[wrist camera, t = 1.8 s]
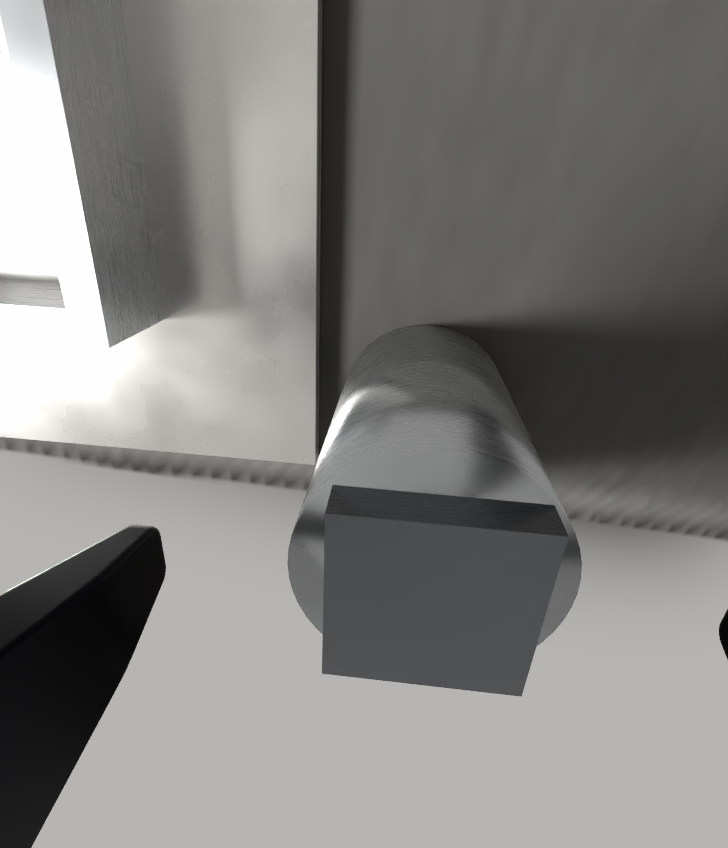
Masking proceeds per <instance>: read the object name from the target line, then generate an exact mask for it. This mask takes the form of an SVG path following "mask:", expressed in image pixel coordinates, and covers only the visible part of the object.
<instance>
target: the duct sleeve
mask: <svg viewBox="0 0 728 848" xmlns="http://www.w3.org/2000/svg"><path fill="white" fill-rule="evenodd" d="M581 567H582V563H581V554H580V548H579V544H578V541H577V538H576V534H575V532H574V530H573V527H572V525H571V523H570V521H569V519H568V517H567V515H566V513H565V511H564V508H563V506H562V504H561V502H560V500H559V498H558V496H557V494H556V492H555V489H554V487H553V485H552V483H551V481H550V479H549V477H548V475H547V473H546V470H545V468H544V466H543V464H542V462H541V460H540V458H539V456H538V454H537V451H536V449H535V447H534V445H533V443H532V441H531V439H530V437H529V435H528V432H527V430H526V428H525V426H524V424H523V422H522V420H521V418H520V416H519V413H518V411H517V409H516V407H515V405H514V403H513V401H512V399H511V397H510V394H509V392H508V390H507V388H506V386H505V384H504V382H503V380H502V378H501V375H500V373H499V371H498V369H497V367H496V365H495V363H494V362H493V360H492V359H491V357H490V356H489V354H488V353H487V352H486V351H485V350H484V349H483V348H482V347H481V346H480V345H479V344H477V343H476V342H475V341H474V340H472V339H471V338H469V337H467V336H466V335H464V334H462V333H460V332H457V331H455V330H453V329H449V328H445V327H441V326H434V325H415V326H408V327H404V328H400V329H397V330H394V331H392V332H389V333H387V334H385V335H383V336H381V337H380V338H378V339H376V340H375V341H374V342H372V343H371V344H370V345H369V346H367V347H366V348H365V349H364V350H363V351H362V352H361V354H360V355H359V356H358V358H357V359H356V360H355V362H354V363H353V365H352V367H351V369H350V371H349V373H348V376H347V378H346V381H345V384H344V387H343V390H342V393H341V395H340V398H339V401H338V404H337V407H336V410H335V413H334V416H333V418H332V421H331V424H330V427H329V430H328V433H327V436H326V439H325V441H324V444H323V447H322V450H321V453H320V456H319V459H318V461H317V464H316V467H315V470H314V473H313V476H312V479H311V482H310V484H309V487H308V490H307V493H306V496H305V499H304V502H303V505H302V508H301V510H300V513H299V516H298V519H297V522H296V525H295V528H294V530H293V533H292V537H291V541H290V546H289V551H288V570H289V579H290V582H291V586H292V589H293V592H294V594H295V597H296V599H297V601H298V603H299V605H300V607H301V609H302V610H303V612H304V613H305V615H306V617H307V618H308V619H309V620H310V621H311V623H312V624H313V625H314V626H315V627H316V628H317V629H318V630H319V631H320V632H321V633H322V634H323V654H322V655H323V656H322V673H323V674H332V675H340V676H349V677H358V678H366V679H375V680H383V681H392V682H402V683H409V684H418V685H427V686H435V687H444V688H453V689H461V690H471V691H479V692H487V693H496V694H505V695H514V696H522V693H523V689H524V685H525V682H526V679H527V676H528V672H529V669H530V666H531V662H532V659H533V655H534V652H535V649H536V646H537V645H539V644H540V643H542V642H543V641H544V640H545V639H546V638H547V637H548V636H549V635H551V634H552V633H553V632H554V631H555V629H556V628H557V627H558V626H559V625H560V623H561V622H562V621H563V620H564V618H565V617H566V615H567V614H568V612H569V610H570V609H571V607H572V605H573V603H574V600H575V598H576V595H577V593H578V588H579V584H580V580H581Z"/></svg>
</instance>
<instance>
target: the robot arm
mask: <svg viewBox="0 0 728 848" xmlns="http://www.w3.org/2000/svg"><path fill="white" fill-rule="evenodd" d="M165 571H166V565H165V559H164V553H163V547H162V541H161V536H160V532H159V531H158V529H157V528H155V527H153V526H143V525H130V526H128V527H126V528H124V529H122V530H120V531H118V532H116V533H114V534H113V535H111V536H109V537H107V538H105V539H103V540H101V541H100V542H98V543H96V544H94V545H92V546H90V547H88V548H86V549H84V550H83V551H81V552H79V553H77V554H75V555H73V556H71V557H69V558H68V559H66V560H64V561H62V562H60V563H58V564H56V565H54V566H52V567H51V568H49V569H47V570H45V571H43V572H41V573H40V574H37V575H36V576H34V577H32V578H30V579H28V580H26V581H25V582H22V583H21V584H19V585H17V586H15V587H13V588H11V589H9V590H8V591H6V592H4V593H2V594H0V848H31V847H32V845H33V843H34V841H35V839H36V837H37V836H38V834H39V832H40V830H41V828H42V826H43V824H44V823H45V821H46V819H47V817H48V815H49V813H50V811H51V810H52V807H53V806H54V804H55V802H56V800H57V799H58V797H59V795H60V793H61V791H62V789H63V787H64V785H65V784H66V782H67V780H68V778H69V776H70V774H71V772H72V770H73V769H74V767H75V765H76V763H77V761H78V759H79V757H80V756H81V754H82V752H83V750H84V748H85V746H86V744H87V743H88V740H89V739H90V737H91V735H92V733H93V731H94V729H95V728H96V726H97V724H98V722H99V720H100V719H101V717H102V714H103V713H104V711H105V709H106V707H107V705H108V704H109V702H110V700H111V698H112V696H113V694H114V692H115V690H116V689H117V687H118V685H119V683H120V681H121V679H122V677H123V675H124V673H125V671H126V669H127V667H128V664H129V662H130V660H131V658H132V655H133V653H134V651H135V648H136V646H137V643H138V641H139V639H140V636H141V634H142V631H143V629H144V626H145V624H146V621H147V619H148V617H149V614H150V612H151V609H152V607H153V605H154V602H155V600H156V597H157V595H158V593H159V590H160V588H161V585H162V583H163V580H164V577H165ZM719 636H720V640H721V644H722V646H723V649H724V651H725V654H726V656H727V659H728V610H727V612H726V613H725V615H724V617H723V619H722V621H721V623H720V627H719Z"/></svg>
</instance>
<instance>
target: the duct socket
mask: <svg viewBox="0 0 728 848" xmlns="http://www.w3.org/2000/svg"><path fill="white" fill-rule="evenodd" d="M322 27H323V0H0V437H9V438H20V439H32V440H43V441H54V442H65V443H76V444H87V445H98V446H110V447H121V448H132V449H143V450H154V451H165V452H176V453H188V454H199V455H210V456H221V457H232V458H243V459H254V460H266V461H277V462H288V463H299V464H310V465H315V464H316V461H317V459H318V456H319V366H320V253H321V140H322Z"/></svg>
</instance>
